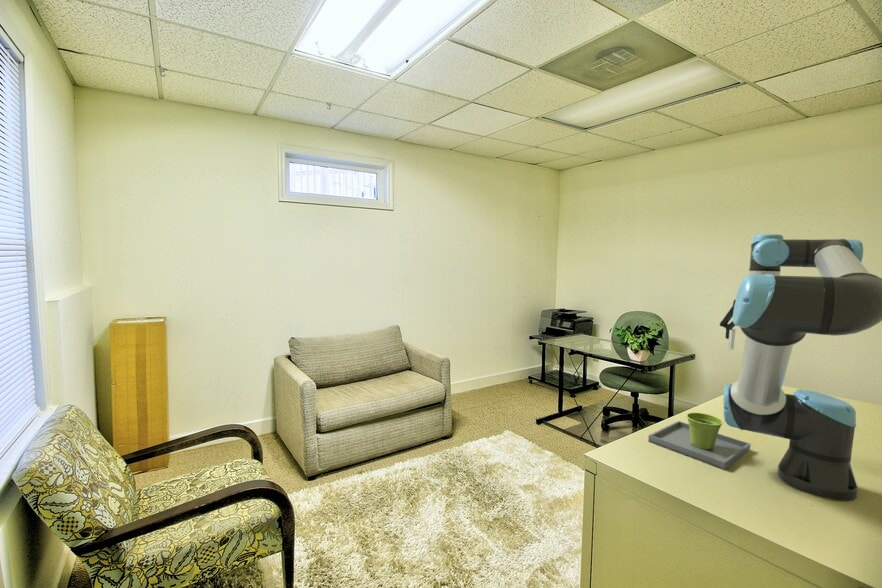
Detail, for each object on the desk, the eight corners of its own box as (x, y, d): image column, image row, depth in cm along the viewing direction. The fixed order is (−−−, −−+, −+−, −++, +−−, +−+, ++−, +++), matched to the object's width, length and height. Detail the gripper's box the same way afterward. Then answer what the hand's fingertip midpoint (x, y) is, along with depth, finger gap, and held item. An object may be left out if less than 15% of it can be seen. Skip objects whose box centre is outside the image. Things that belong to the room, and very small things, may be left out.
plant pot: (719, 456, 118) (722, 427, 117) (682, 446, 123) (684, 418, 122) (721, 444, 125) (723, 417, 124) (685, 436, 131) (688, 410, 130)
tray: (677, 426, 139) (678, 420, 139) (750, 450, 123) (750, 443, 123) (648, 441, 127) (648, 435, 127) (724, 470, 111) (724, 462, 111)
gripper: (820, 288, 116) (812, 361, 118) (720, 282, 136) (715, 344, 138) (814, 289, 112) (805, 364, 114) (711, 283, 132) (706, 347, 133)
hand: (756, 353), depth 126 cm, fingers open, 13 cm apart
